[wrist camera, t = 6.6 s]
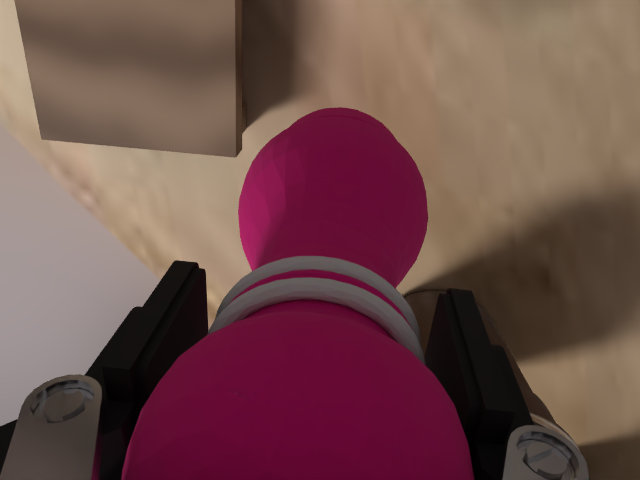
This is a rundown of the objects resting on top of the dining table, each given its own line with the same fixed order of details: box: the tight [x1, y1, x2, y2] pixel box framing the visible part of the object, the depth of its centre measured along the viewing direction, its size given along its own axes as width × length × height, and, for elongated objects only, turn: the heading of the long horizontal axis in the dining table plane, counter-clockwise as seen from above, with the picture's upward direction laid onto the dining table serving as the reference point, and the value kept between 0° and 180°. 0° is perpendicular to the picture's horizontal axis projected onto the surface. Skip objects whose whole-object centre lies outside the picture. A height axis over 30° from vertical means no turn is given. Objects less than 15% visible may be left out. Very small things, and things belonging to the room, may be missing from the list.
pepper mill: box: [122, 108, 474, 480], centre depth 14 cm, size 7×7×20 cm
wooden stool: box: [15, 0, 246, 157], centre depth 34 cm, size 14×14×6 cm
